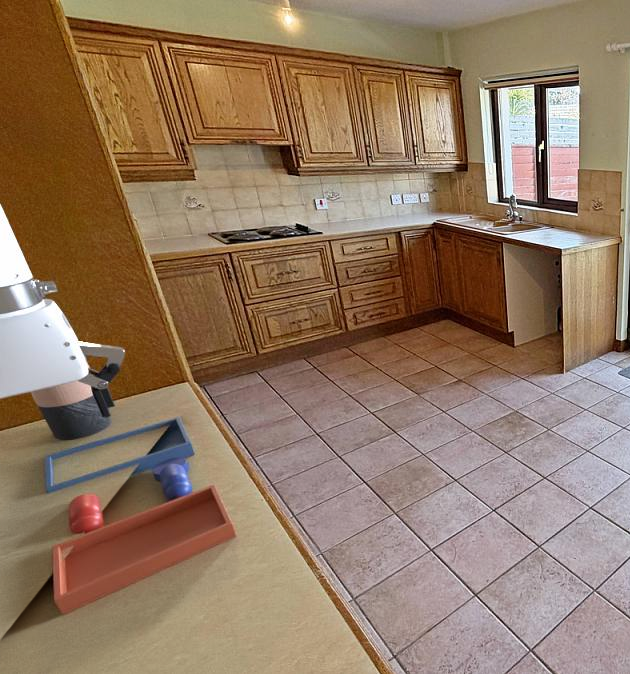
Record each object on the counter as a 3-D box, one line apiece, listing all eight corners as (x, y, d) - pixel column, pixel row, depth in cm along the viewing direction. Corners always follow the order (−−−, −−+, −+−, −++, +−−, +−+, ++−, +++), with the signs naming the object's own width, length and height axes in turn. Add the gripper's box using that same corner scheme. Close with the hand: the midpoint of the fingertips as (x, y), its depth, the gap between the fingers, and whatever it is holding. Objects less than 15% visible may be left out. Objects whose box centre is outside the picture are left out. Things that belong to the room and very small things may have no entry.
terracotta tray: (236, 536, 68) (232, 523, 67) (62, 615, 56) (53, 600, 55) (218, 496, 75) (214, 484, 74) (59, 560, 63) (52, 546, 62)
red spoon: (113, 532, 68) (105, 515, 66) (69, 549, 65) (59, 532, 63) (106, 489, 75) (98, 473, 74) (66, 502, 72) (57, 486, 71)
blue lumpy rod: (201, 497, 74) (195, 481, 73) (165, 512, 71) (158, 495, 70) (186, 461, 82) (180, 446, 81) (152, 473, 79) (146, 457, 78)
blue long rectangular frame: (195, 454, 84) (190, 442, 83) (52, 502, 72) (45, 489, 71) (183, 427, 91) (179, 416, 90) (51, 468, 79) (44, 455, 78)
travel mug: (115, 420, 92) (74, 325, 84) (117, 437, 87) (73, 338, 79) (58, 435, 87) (8, 335, 79) (56, 454, 82) (3, 350, 74)
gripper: (95, 277, 61) (140, 392, 68) (-139, 307, 49) (-56, 443, 56) (101, 291, 56) (149, 413, 63) (-156, 328, 44) (-64, 473, 51)
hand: (53, 427), depth 59 cm, fingers open, 9 cm apart
